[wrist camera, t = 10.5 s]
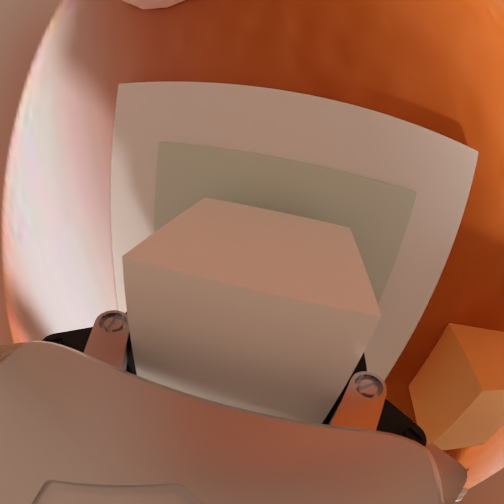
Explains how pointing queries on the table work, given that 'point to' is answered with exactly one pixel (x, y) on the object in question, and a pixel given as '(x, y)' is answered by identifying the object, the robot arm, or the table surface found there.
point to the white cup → (152, 3)
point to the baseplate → (295, 181)
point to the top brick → (461, 388)
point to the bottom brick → (250, 308)
